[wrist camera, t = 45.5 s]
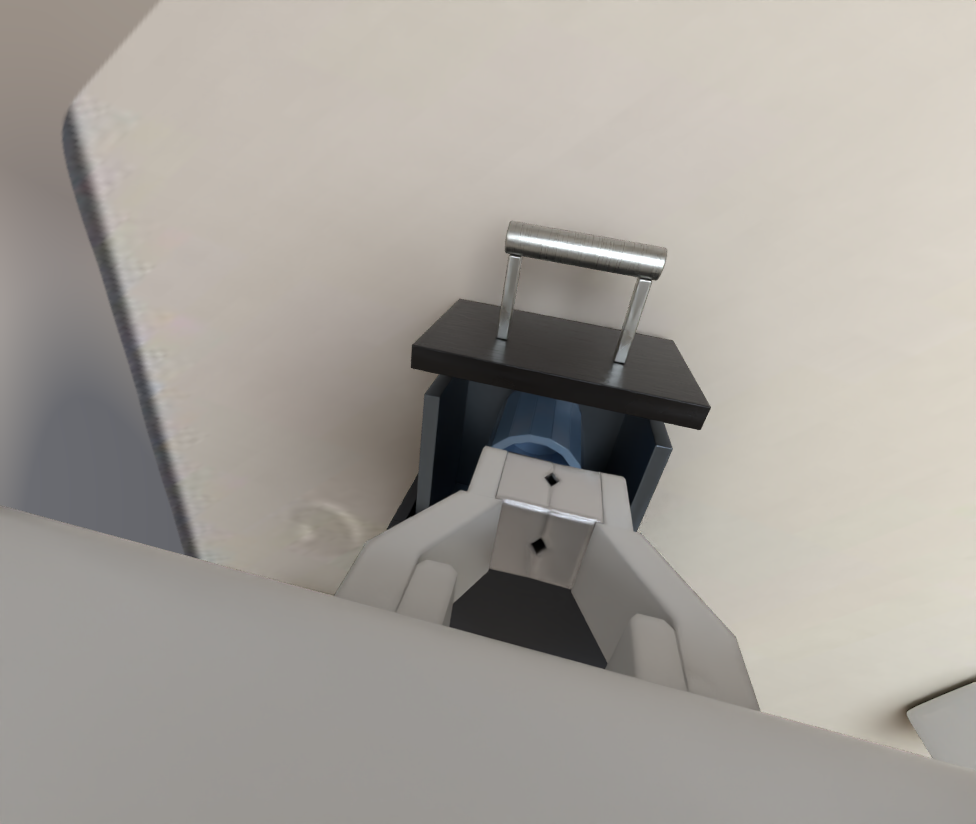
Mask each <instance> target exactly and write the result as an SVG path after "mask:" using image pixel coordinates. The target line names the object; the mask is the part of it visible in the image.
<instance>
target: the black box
mask: <svg viewBox="0 0 976 824" xmlns="http://www.w3.org/2000/svg"><path fill="white" fill-rule="evenodd" d="M418 474H419V473H418ZM418 474H417V476H416V478H415V480H414V482H413V483H412V485H411V487H410V489H409V490H408V492H407V494H406V496H405V498H404V499H403V501H402V503H401V505H400V507H399V508H398V510H397V512H396V514H395V515H394V517H393V519H392V521H391V522H390V524H389V526H388V528H387V530H388V529H390V528H392V527H394V526H395V525H397V524H399V523H401V522H403V521H405V520H407V519H408V518H410V517H412V516H414V515H416V501H417V488H418ZM449 627H451V628H455V629H458V630H462V631H466V632H469V633H473V634H477V635H480V636H484V637H488V638H491V639H495V640H499V641H503V642H506V643H510V644H514V645H517V646H521V647H525V648H528V649H532V650H536V651H539V652H543V653H547V654H550V655H554V656H558V657H561V658H565V659H569V660H572V661H576V662H580V663H584V664H587V665H591V666H595V667H598V668H602V669H605V668H606V666H607V664H608V663H607V661H606V659H605V657H604V655H603V653H602V651H601V649H600V647H599V645H598V643H597V642H596V640H595V638H594V636H593V634H592V632H591V630H590V628H589V626H588V624H587V622H586V620H585V618H584V616H583V614H582V612H581V610H580V608H579V606H578V604H577V602H576V600H575V598H574V596H573V594H572V593H571V589H568V588H564V587H560V586H557V585H553V584H550V583H546V582H543V581H539V580H536V579H532V578H529V577H524V576H520V575H515V574H511V573H506V572H502V571H498V570H493V569H489V570H488V572H487V573H486V574H484V575H483V576H482V577H481V578H480V579H479V580H478V581H477V582H476V583H475V584H474V585H473V586H472V587H470V588H469V589H468V590H467V591H466V592H465V593H464V594H463V595H462V596H461V597H460V598H459V599H458V600H456V601H455V602H454V603H453V606H452V613H451V619H450V625H449Z"/></svg>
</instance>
